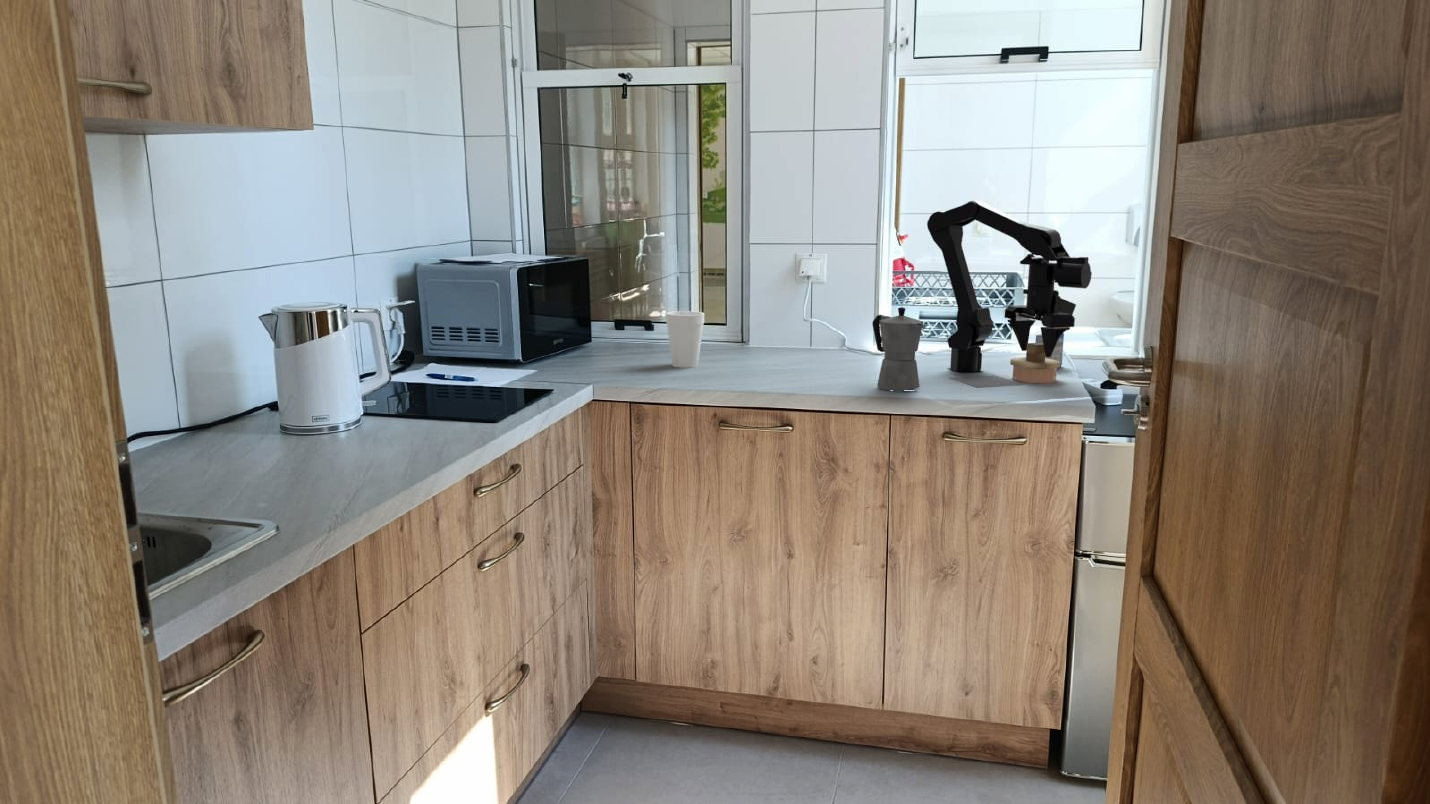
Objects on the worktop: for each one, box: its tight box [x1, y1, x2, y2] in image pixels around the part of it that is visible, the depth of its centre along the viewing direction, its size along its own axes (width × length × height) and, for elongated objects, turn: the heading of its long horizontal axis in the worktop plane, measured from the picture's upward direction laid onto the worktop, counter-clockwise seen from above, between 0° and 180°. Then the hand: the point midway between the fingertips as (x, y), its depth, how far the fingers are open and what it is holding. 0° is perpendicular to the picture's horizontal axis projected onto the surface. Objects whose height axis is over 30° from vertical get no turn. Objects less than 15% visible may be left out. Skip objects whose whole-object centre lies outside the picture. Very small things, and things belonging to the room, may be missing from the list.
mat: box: [949, 374, 1025, 389], centre depth 231 cm, size 12×12×1 cm
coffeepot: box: [871, 306, 925, 391], centre depth 224 cm, size 15×9×18 cm, turn 33°
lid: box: [1009, 342, 1061, 369], centre depth 232 cm, size 11×11×5 cm
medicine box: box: [1034, 332, 1065, 367], centre depth 251 cm, size 8×4×9 cm, turn 143°
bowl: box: [1012, 365, 1058, 384], centre depth 233 cm, size 9×9×4 cm
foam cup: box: [665, 310, 705, 369], centre depth 251 cm, size 10×9×13 cm
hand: (1035, 353), depth 232 cm, fingers open, 9 cm apart
